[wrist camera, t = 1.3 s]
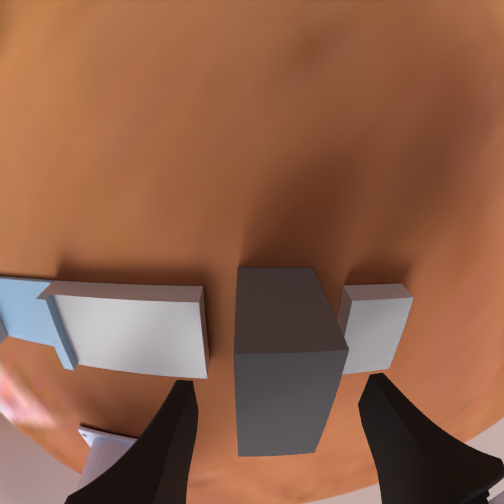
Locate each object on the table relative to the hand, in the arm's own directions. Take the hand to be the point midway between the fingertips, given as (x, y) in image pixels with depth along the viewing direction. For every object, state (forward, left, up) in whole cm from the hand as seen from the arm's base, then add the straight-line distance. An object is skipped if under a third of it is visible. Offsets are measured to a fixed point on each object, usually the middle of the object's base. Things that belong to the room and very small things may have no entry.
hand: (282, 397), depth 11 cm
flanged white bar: (0, +8, -5) cm, 9 cm away
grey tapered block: (0, 0, -5) cm, 5 cm away
